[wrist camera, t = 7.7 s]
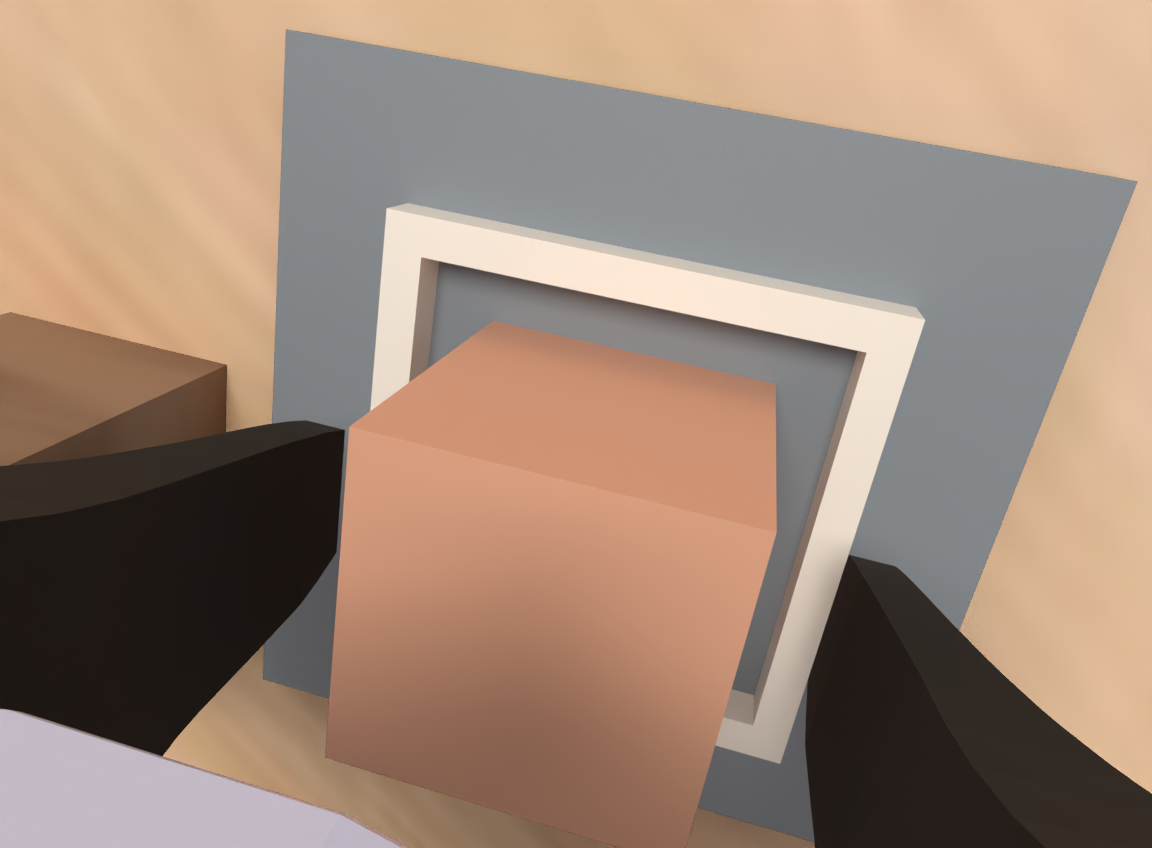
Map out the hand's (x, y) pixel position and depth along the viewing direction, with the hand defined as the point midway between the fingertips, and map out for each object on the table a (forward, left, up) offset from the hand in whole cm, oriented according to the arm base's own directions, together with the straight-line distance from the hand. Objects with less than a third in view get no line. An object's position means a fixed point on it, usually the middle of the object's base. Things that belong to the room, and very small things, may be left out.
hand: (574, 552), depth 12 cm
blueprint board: (0, 0, -3) cm, 3 cm away
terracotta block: (0, 0, -2) cm, 2 cm away
